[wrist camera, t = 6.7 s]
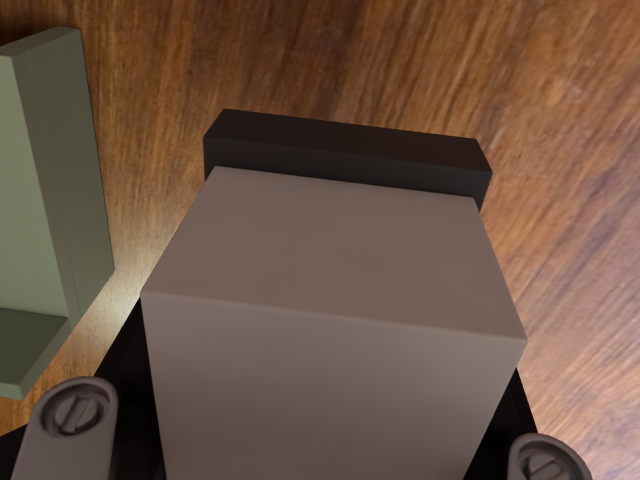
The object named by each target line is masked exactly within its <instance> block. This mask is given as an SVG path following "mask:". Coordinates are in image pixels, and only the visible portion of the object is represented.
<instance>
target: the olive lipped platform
mask: <svg viewBox="0 0 640 480" xmlns="http://www.w3.org/2000/svg"><path fill="white" fill-rule="evenodd" d="M113 273H114V265H113V258H112V251H111V244H110V237H109V230H108V223H107V216H106V209H105V202H104V195H103V188H102V181H101V174H100V167H99V160H98V153H97V146H96V139H95V132H94V125H93V118H92V111H91V104H90V97H89V90H88V82H87V75H86V68H85V61H84V54H83V47H82V40H81V33H80V29H76V28H69V27H62V26H56V27H53V28H50V29H48V30H45V31H42V32H39V33H36V34H34V35H31V36H28V37H25V38H23V39H20V40H17V41H14V42H11V43H9V44H6V45H3V46H1V47H0V397H5V398H12V399H19V400H24V399H25V397H26V396H27V394H28V393H29V391H30V390H31V389H32V387H33V386H34V384H35V383H36V382H37V380H38V379H39V377H40V376H41V374H42V373H43V372H44V370H45V369H46V367H47V366H48V365H49V363H50V362H51V360H52V359H53V357H54V356H55V355H56V353H57V352H58V350H59V349H60V347H61V346H62V345H63V343H64V342H65V340H66V339H67V338H68V336H69V335H70V333H71V331H73V329H74V328H75V326H76V325H77V323H78V322H79V321H80V319H81V318H82V317H83V315H84V314H85V312H86V311H87V309H88V308H89V307H90V305H91V304H92V302H93V301H94V300H95V298H96V297H97V295H98V294H99V292H100V291H101V290H102V288H103V287H104V285H105V284H106V282H107V281H108V280H109V278H110V277H111V275H112V274H113Z"/></svg>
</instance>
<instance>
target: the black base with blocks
mask: <svg viewBox="0 0 640 480" xmlns="http://www.w3.org/2000/svg"><path fill="white" fill-rule="evenodd" d="M203 150H204V176H205V184H204V185H203V187H202V189H201V190H200V192H199V194H198V195H197V197H196V199H195V200H194V202H193V204H192V205H191V207H190V209H189V210H188V212H187V214H186V215H185V217H184V219H183V221H182V222H181V224H180V226H179V227H178V229H177V231H176V232H175V234H174V236H173V237H172V239H171V241H170V242H169V244H168V246H167V247H166V249H165V251H164V252H163V254H162V256H161V258H160V259H159V261H158V263H157V264H156V266H155V268H154V269H153V271H152V273H151V274H150V276H149V278H148V279H147V281H146V283H145V284H144V286H143V288H142V289H141V292H140V298H141V305H142V312H143V319H144V326H145V333H146V340H147V347H148V354H149V361H150V368H151V375H152V382H153V389H154V396H155V403H156V410H157V417H158V424H159V431H160V438H161V445H162V451H163V458H164V465H165V472H166V479H167V480H463V478H464V476H465V474H466V472H467V470H468V467H469V465H470V463H471V461H472V459H473V457H474V455H475V453H476V451H477V448H478V446H479V444H480V442H481V440H482V438H483V436H484V434H485V432H486V429H487V427H488V425H489V423H490V421H491V419H492V417H493V415H494V413H495V410H496V408H497V406H498V404H499V402H500V400H501V398H502V396H503V394H504V391H505V389H506V387H507V385H508V383H509V381H510V379H511V377H512V375H513V372H514V370H515V368H516V366H517V364H518V362H519V360H520V358H521V356H522V354H523V351H524V349H525V347H526V345H527V342H528V341H527V337H526V334H525V331H524V329H523V326H522V324H521V321H520V318H519V316H518V313H517V310H516V308H515V305H514V303H513V300H512V297H511V295H510V292H509V289H508V287H507V284H506V282H505V279H504V276H503V274H502V271H501V268H500V266H499V263H498V261H497V258H496V255H495V253H494V250H493V247H492V245H491V242H490V240H489V237H488V234H487V232H486V229H485V227H484V224H483V221H482V219H481V216H480V211H481V207H482V204H483V201H484V198H485V195H486V192H487V189H488V186H489V183H490V180H491V177H492V174H493V173H492V170H491V168H490V165H489V163H488V161H487V159H486V157H485V155H484V153H483V151H482V149H481V147H480V145H479V143H478V141H477V140H476V139H472V138H463V137H455V136H447V135H439V134H430V133H422V132H414V131H406V130H398V129H389V128H381V127H373V126H365V125H357V124H348V123H340V122H332V121H324V120H315V119H307V118H299V117H291V116H283V115H274V114H266V113H258V112H250V111H241V110H233V109H223V110H222V112H221V113H220V114H219V116H218V117H217V119H216V120H215V121H214V123H213V124H212V125H211V127H210V128H209V130H208V131H207V132H206V134H205V135H204V137H203Z"/></svg>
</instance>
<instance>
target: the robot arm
mask: <svg viewBox="0 0 640 480" xmlns="http://www.w3.org/2000/svg"><path fill="white" fill-rule="evenodd" d="M0 480H166V472H165V465H164V458H163V451H162V445H161V438H160V431H159V424H158V417H157V410H156V403H155V396H154V389H153V382H152V375H151V368H150V361H149V354H148V347H147V340H146V333H145V326H144V319H143V312H142V305H141V298H140V297H139V299H138V301H137V302H136V304H135V306H134V308H133V309H132V311H131V313H130V314H129V316H128V318H127V320H126V321H125V323H124V325H123V326H122V328H121V330H120V331H119V333H118V335H117V337H116V338H115V340H114V342H113V343H112V345H111V347H110V349H109V350H108V352H107V354H106V355H105V357H104V359H103V360H102V362H101V364H100V366H99V367H98V369H97V371H96V372H95V374H94V376H93V377H92V376H82V377H77V378H72V379H69V380H66V381H64V382H62V383H59V384H57V385H55V386H54V387H53V388H51V389H50V390H48V391H47V392H45V393H44V395H43V396H42V397H41V398H40V399H39V400H38V401H37V402H36V404H35V406H34V408H33V410H32V412H31V415H30V418H29V422H28V424H26V425H24V426H22V427H20V428H17V429H15V430H13V431H11V432H9V433H7V434H5V435H3V436H1V437H0ZM463 480H593V479H592V476H591V473H590V471H589V469H588V467H587V466H586V464H585V462H584V461H583V460H582V459H581V457H580V456H579V455H578V454H577V453H576V452H575V451H574V450H573V449H572V448H570V447H569V446H567V445H566V444H565V443H563V442H562V441H560V440H558V439H556V438H554V437H551V436H549V435H544V434H540V433H538V431H537V428H536V425H535V422H534V419H533V416H532V413H531V409H530V406H529V403H528V400H527V397H526V394H525V391H524V388H523V385H522V382H521V379H520V376H519V373H518V370H517V367H516V368H515V370H514V372H513V375H512V377H511V379H510V381H509V383H508V385H507V387H506V389H505V391H504V394H503V396H502V398H501V400H500V402H499V404H498V406H497V408H496V410H495V413H494V415H493V417H492V419H491V421H490V423H489V425H488V427H487V429H486V432H485V434H484V436H483V438H482V440H481V442H480V444H479V446H478V448H477V451H476V453H475V455H474V457H473V459H472V461H471V463H470V465H469V467H468V470H467V472H466V474H465V476H464V478H463Z"/></svg>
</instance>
